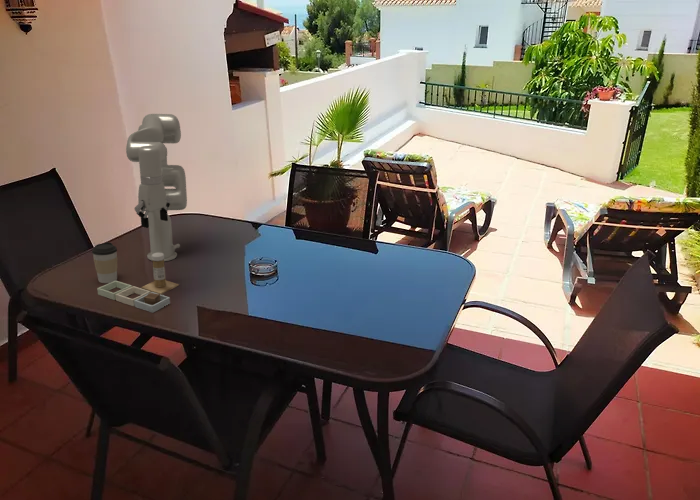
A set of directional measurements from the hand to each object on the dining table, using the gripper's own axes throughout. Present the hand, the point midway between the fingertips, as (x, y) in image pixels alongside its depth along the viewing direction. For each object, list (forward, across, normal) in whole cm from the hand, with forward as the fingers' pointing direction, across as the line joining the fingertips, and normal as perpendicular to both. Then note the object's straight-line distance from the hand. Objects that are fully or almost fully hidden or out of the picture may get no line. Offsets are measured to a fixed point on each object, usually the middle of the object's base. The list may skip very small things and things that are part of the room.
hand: (154, 223), depth 197 cm
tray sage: (+26, +14, -9) cm, 31 cm away
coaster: (+26, +1, +1) cm, 26 cm away
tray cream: (+26, +14, 0) cm, 30 cm away
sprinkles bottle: (+26, +1, +1) cm, 26 cm away
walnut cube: (+26, +14, +10) cm, 31 cm away
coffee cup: (+27, +7, -21) cm, 35 cm away
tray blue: (+26, +14, +10) cm, 31 cm away
